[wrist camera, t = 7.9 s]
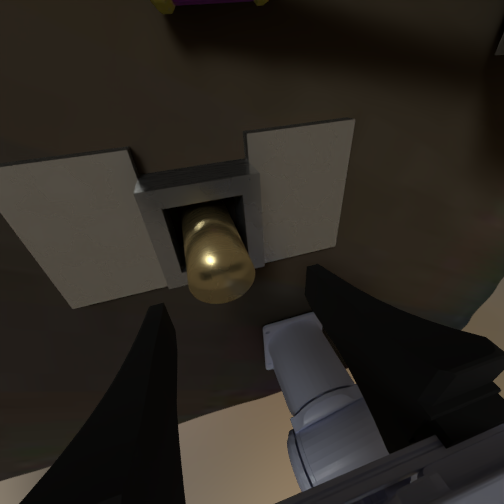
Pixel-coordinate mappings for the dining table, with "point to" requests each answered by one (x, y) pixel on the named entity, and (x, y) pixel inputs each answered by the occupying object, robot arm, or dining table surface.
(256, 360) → the dining table surface
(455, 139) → the dining table surface
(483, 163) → the dining table surface
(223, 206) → the hinge pin
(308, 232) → the hinge base
